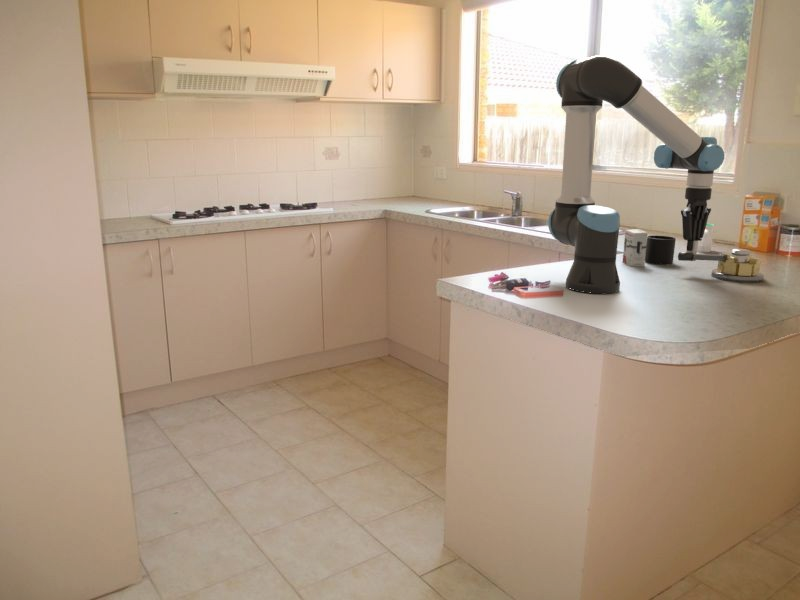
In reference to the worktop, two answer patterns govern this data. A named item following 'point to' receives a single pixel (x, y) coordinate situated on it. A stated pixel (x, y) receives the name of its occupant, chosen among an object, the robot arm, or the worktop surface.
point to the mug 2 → (706, 239)
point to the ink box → (635, 247)
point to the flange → (741, 258)
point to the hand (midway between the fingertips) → (690, 260)
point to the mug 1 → (660, 250)
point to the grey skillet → (726, 263)
